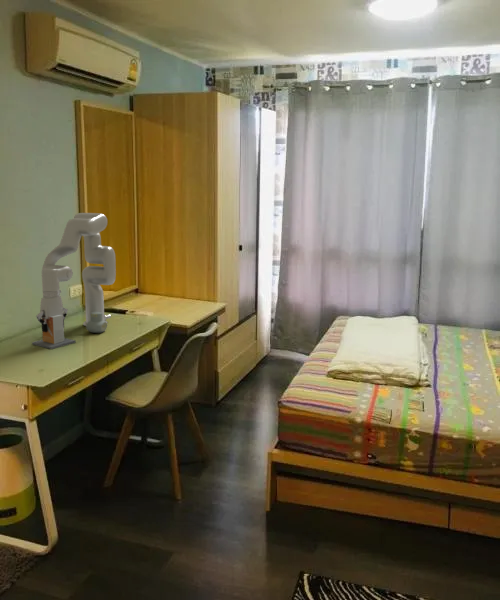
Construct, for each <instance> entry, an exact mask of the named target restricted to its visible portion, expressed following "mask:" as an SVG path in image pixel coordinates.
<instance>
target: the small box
mask: <svg viewBox="0 0 500 600" xmlns="http://www.w3.org/2000/svg"><path fill="white" fill-rule="evenodd" d="M45 317H46V316H45ZM46 324H47V329H48V332H43V331H42V330H41V332H42V340H43V341H44V342H48V343H52V344H56V343H60V342H63V341H64V338H65V330H64V329H65V324H64V325H63V315H55V316H51V317H50V319H48V321H47V322H46Z"/></svg>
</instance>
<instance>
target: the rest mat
mask: <svg viewBox="0 0 500 600" xmlns="http://www.w3.org/2000/svg"><path fill="white" fill-rule="evenodd" d="M76 342H77V341H76V340H75V339H71V338H67V337H64V341H63V342H60V343H56V344H52V343H48V342H44V341H43V339H40V340H35V341H32V342H31V345H33V346H37V347H40V348H41V347H42V348H45V349H48V350H53V349H58V348H62V347H64V346H69V345H72V344H76Z"/></svg>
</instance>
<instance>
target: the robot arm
mask: <svg viewBox="0 0 500 600" xmlns="http://www.w3.org/2000/svg"><path fill="white" fill-rule="evenodd" d="M107 226H108V218H107V216H106V215H105V214H103V213H97V212H79V213H76V214H74V217H73V218H71V219H68V221H66V225H65V228H64V231H63V233H62V237H61V240H60V242H59V244H58V245H57V246H55V247H54V248H53V249H52V250H51V251H50V252H48V254H47V255H46V257H45V259H44V262H43V265H42V268H41V282H42V283H41V285H42V297H41V300H40V307H39V309H40V311H39V313H37V314H36V316H35V317H36V319H37V321H38V322H39V323H40V325H41V332H42V331H43V332H48V329H47V324H46V322H47V321H48V319H50V317H51V316H55V315H63V325H64V326H65V320H66V317H67V315H68V311H69V309H68V308H66V307H64V306H63V299H62V296H61V293H62V290H61V289H60V283H61V282H68V281H70V280H71V279H72V278H73V274H74V273H73V269H72V268H71V267H70V266H67V265H60V264H57V262H58V261H59V260H61V259H62V258H64V257H67V256H68V255H71V254H73V253H76V251H78V248H79V245H80V241H81V239H82V237H83V241H84V242H83V244H84V260H85V262H86V263H89V264H93V265H87V266H86V267H84V269H83V270H82V271H81V272H82V273H81V277H82V282H83V285H84V298H85V300H84V301H85V321H83V323H82V324H83V326H85V327H86V325H87V323H88V322H89V321H91V317H90V313H92V312H102V319H103V321H105V322H106V323H107V324H108V321H107V320H108V319H111V317H112V315H111V314H105V301H104V298H105V297H104V290H103V288H102V286H101V285H103V286H110V285H113V284H115V281H116V275H117V274H116V273H117V270H116V268H117V267H116V265H117V264H116V262H117V261H116V253H115V250H114V248H113V247H111V246H107V245H102V238H101V232H102V231H104V230H105V229H106V228H107ZM99 265H100V266H99ZM101 265H103V266H101ZM45 316H46V317H45Z"/></svg>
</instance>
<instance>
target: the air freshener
mask: <svg viewBox="0 0 500 600" xmlns="http://www.w3.org/2000/svg"><path fill="white" fill-rule="evenodd" d="M90 317H91V321H89V322H88V323H87V325H86V326H85V329H86V330H87V331H88V332H90V333H92V334H93V333H94V334H101V333H102V334H103V332H105V331H106V330H107V328H108V322H107V323H106V322H105V321H103V319H102V312H92V313H90Z"/></svg>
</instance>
